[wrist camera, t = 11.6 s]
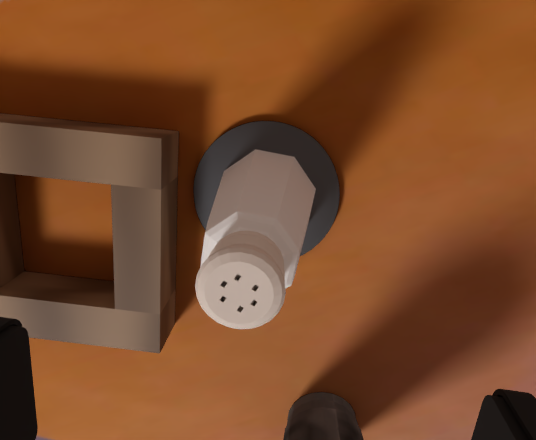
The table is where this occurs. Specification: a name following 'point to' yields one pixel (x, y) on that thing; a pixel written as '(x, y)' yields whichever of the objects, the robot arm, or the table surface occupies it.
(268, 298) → the pepper shaker
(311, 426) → the beverage cup
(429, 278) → the table surface
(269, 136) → the coaster
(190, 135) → the table surface
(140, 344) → the board
